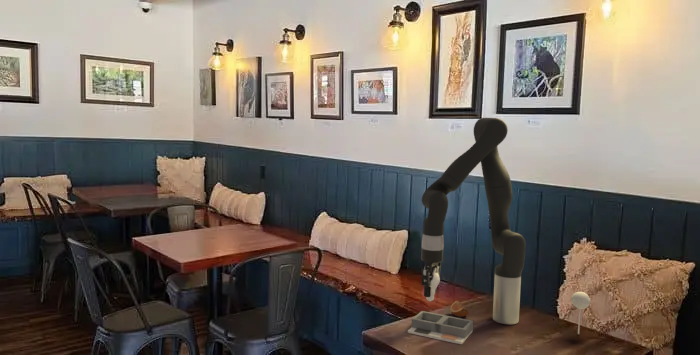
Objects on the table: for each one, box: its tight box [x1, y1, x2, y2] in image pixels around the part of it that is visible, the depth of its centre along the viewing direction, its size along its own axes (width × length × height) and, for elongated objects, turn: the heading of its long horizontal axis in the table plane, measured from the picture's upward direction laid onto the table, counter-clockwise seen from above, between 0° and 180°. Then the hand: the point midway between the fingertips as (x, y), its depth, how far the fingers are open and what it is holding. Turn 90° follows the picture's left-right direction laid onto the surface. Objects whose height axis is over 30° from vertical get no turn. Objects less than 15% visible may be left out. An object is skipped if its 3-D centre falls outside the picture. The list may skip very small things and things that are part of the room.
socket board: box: [407, 310, 474, 345], centre depth 188 cm, size 13×19×4 cm
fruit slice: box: [449, 299, 469, 318], centre depth 203 cm, size 8×7×5 cm
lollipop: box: [570, 291, 591, 335], centre depth 188 cm, size 6×6×15 cm
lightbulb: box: [425, 272, 441, 302], centre depth 190 cm, size 6×6×11 cm
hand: (430, 294), depth 190 cm, fingers closed on lightbulb, 5 cm apart
